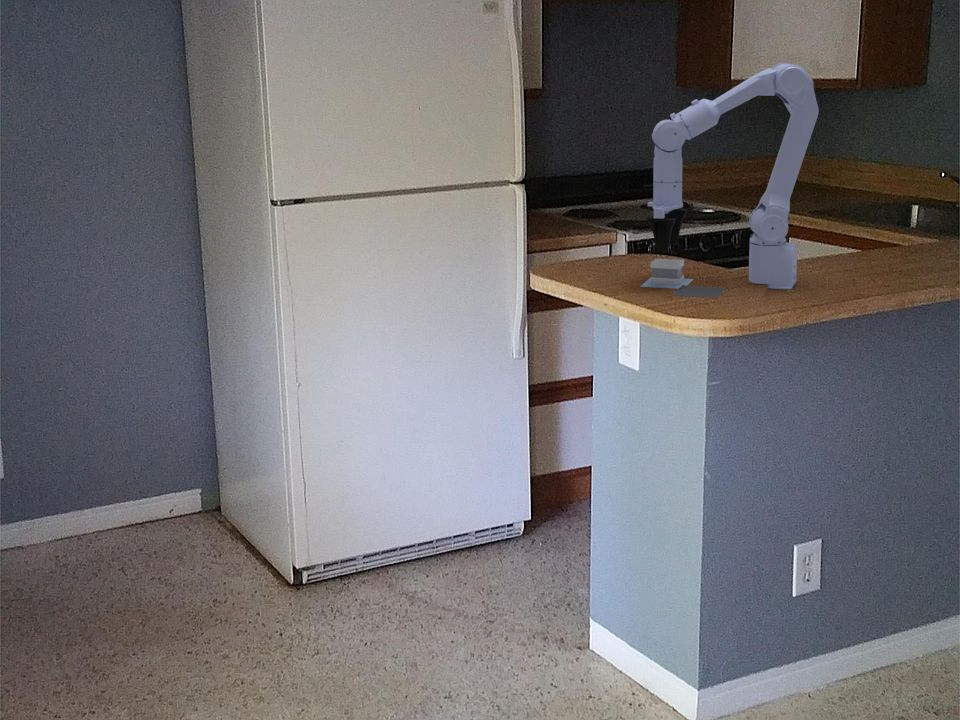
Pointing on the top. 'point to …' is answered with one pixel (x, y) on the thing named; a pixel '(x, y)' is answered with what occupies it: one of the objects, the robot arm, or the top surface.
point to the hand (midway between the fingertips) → (667, 247)
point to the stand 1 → (647, 284)
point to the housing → (667, 272)
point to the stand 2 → (699, 291)
